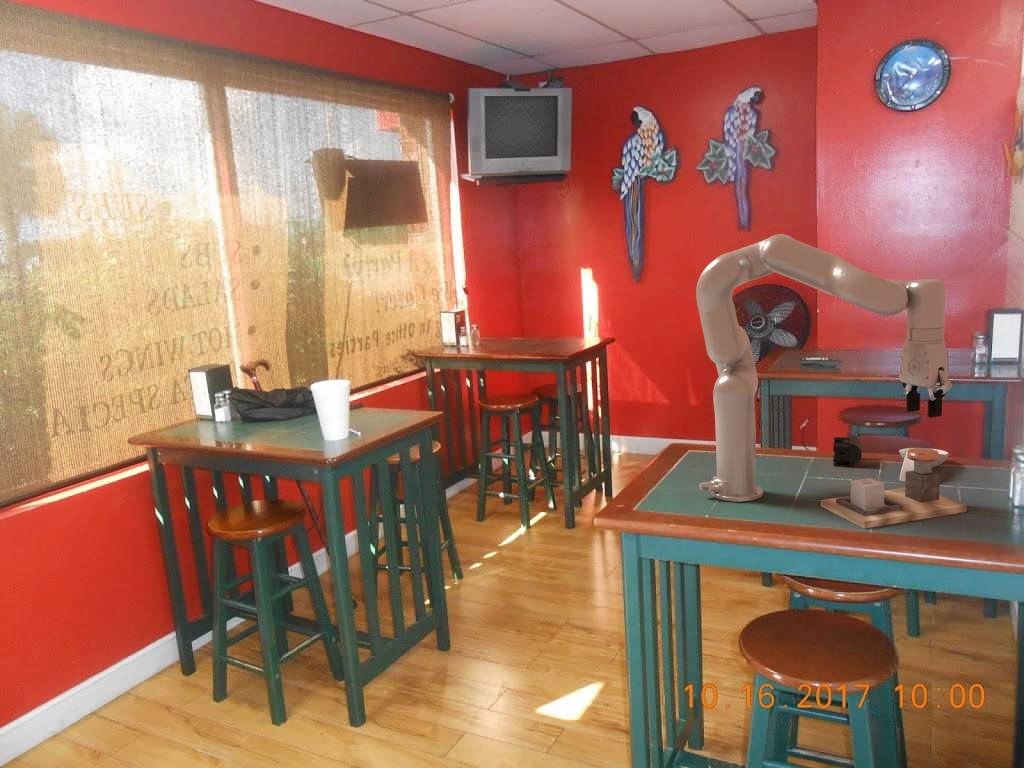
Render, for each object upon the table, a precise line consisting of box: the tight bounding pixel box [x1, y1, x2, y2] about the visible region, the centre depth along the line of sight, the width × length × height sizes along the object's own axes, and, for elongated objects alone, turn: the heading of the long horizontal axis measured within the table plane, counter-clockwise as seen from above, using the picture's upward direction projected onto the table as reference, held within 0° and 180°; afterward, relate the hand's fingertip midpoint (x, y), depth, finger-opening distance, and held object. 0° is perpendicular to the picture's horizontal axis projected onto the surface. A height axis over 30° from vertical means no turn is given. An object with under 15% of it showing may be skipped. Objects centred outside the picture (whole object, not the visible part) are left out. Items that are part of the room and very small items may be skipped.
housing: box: [850, 477, 885, 510], centre depth 185 cm, size 5×5×6 cm
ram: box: [907, 447, 939, 476], centre depth 187 cm, size 6×6×7 cm
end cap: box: [832, 434, 863, 468], centre depth 223 cm, size 10×7×7 cm
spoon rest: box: [898, 447, 950, 483], centre depth 212 cm, size 24×12×7 cm, turn 144°
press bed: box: [820, 470, 968, 529], centre depth 186 cm, size 26×16×8 cm, turn 103°
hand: (923, 413), depth 184 cm, fingers open, 6 cm apart
